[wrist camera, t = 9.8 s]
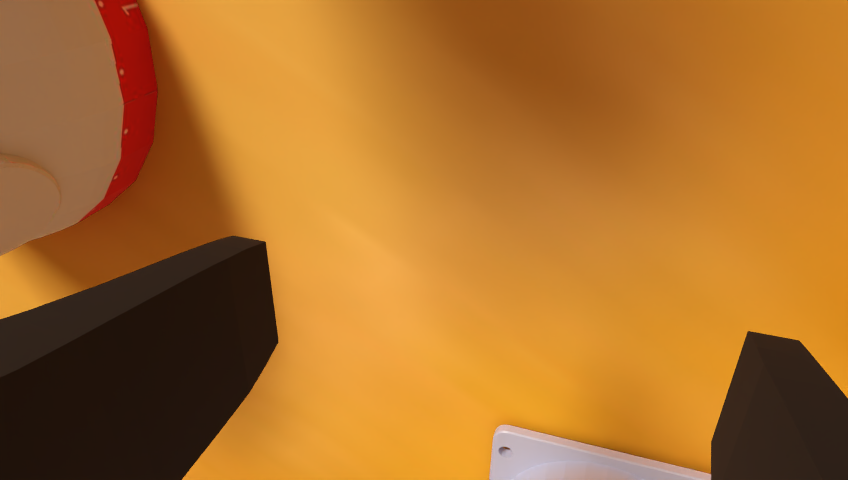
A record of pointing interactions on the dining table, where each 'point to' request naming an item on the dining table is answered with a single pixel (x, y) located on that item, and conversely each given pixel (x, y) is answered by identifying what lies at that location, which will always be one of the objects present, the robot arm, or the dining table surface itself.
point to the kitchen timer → (70, 111)
